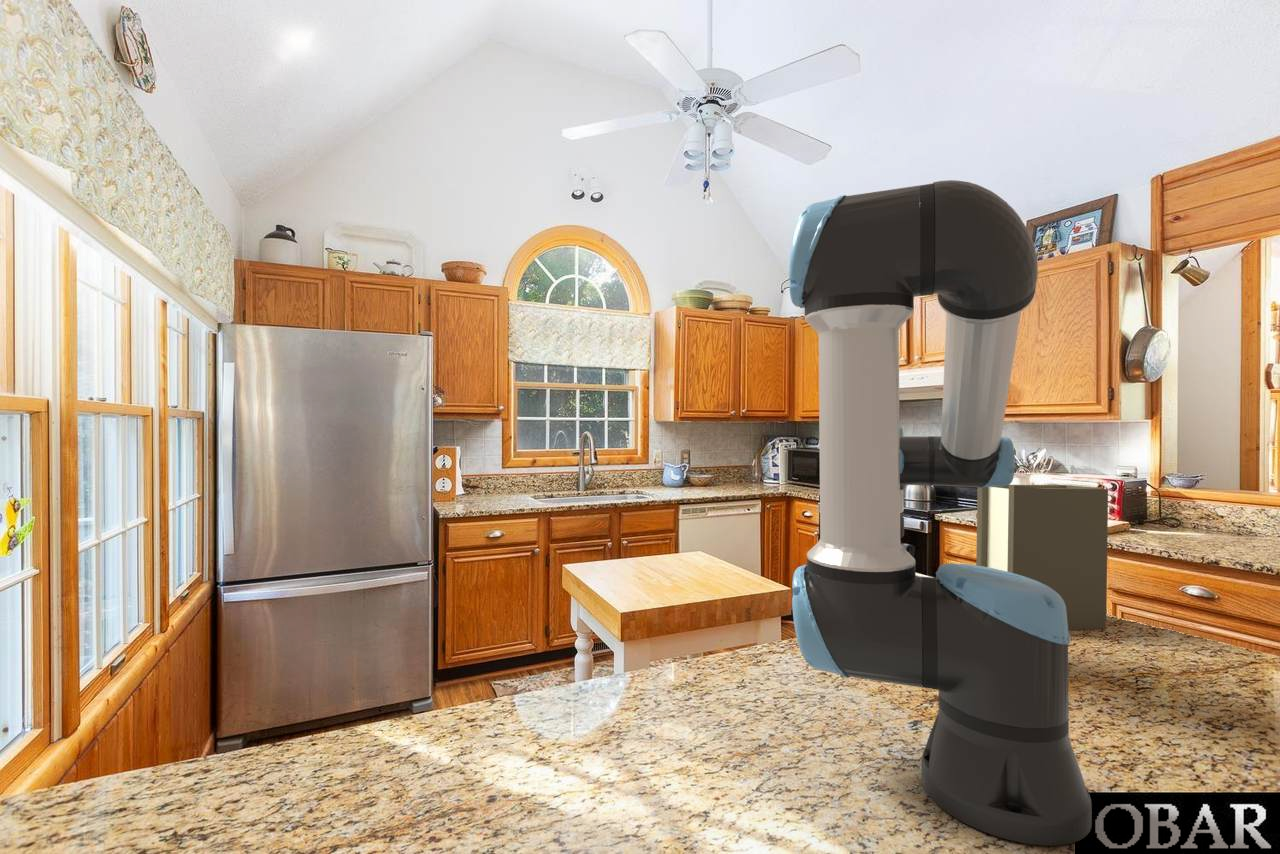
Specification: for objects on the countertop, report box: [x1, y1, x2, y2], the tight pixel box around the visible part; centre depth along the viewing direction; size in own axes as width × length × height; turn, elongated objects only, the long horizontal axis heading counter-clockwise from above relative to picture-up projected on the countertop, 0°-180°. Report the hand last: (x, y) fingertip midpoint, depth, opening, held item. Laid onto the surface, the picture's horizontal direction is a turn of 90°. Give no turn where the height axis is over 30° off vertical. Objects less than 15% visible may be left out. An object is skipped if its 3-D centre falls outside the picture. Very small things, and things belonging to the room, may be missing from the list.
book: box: [975, 484, 1109, 631], centre depth 118 cm, size 22×9×28 cm, turn 100°
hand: (881, 645), depth 104 cm, fingers closed on mug, 7 cm apart
